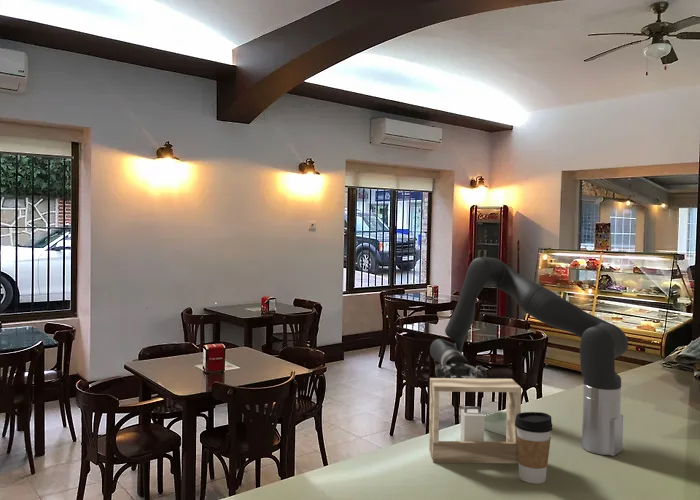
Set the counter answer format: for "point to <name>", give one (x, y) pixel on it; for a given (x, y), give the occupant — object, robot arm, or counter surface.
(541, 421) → the coffee cup
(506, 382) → the frame
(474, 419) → the caddy
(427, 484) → the counter surface
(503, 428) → the tray
